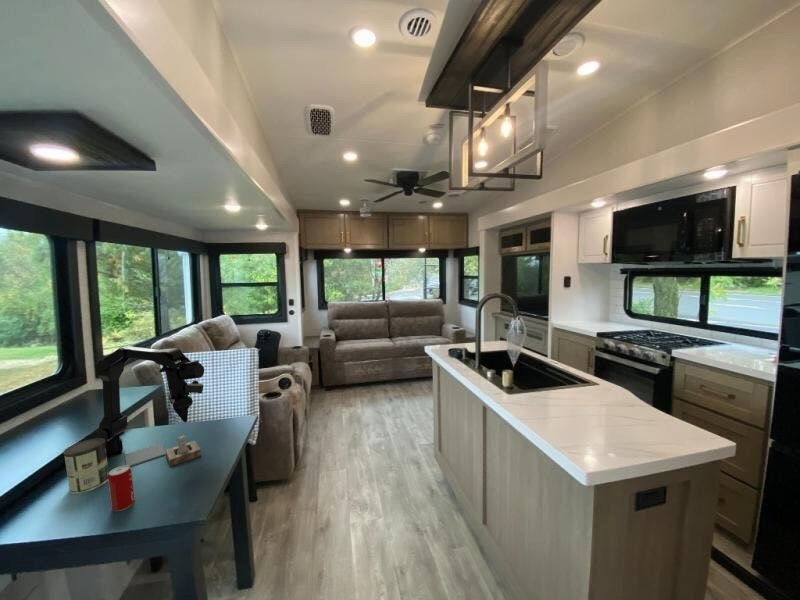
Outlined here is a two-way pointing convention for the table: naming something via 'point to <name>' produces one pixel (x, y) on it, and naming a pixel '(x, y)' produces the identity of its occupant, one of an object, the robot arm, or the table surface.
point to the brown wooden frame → (185, 456)
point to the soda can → (121, 488)
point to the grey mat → (144, 455)
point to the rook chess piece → (182, 444)
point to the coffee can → (86, 465)
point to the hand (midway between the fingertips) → (184, 418)
